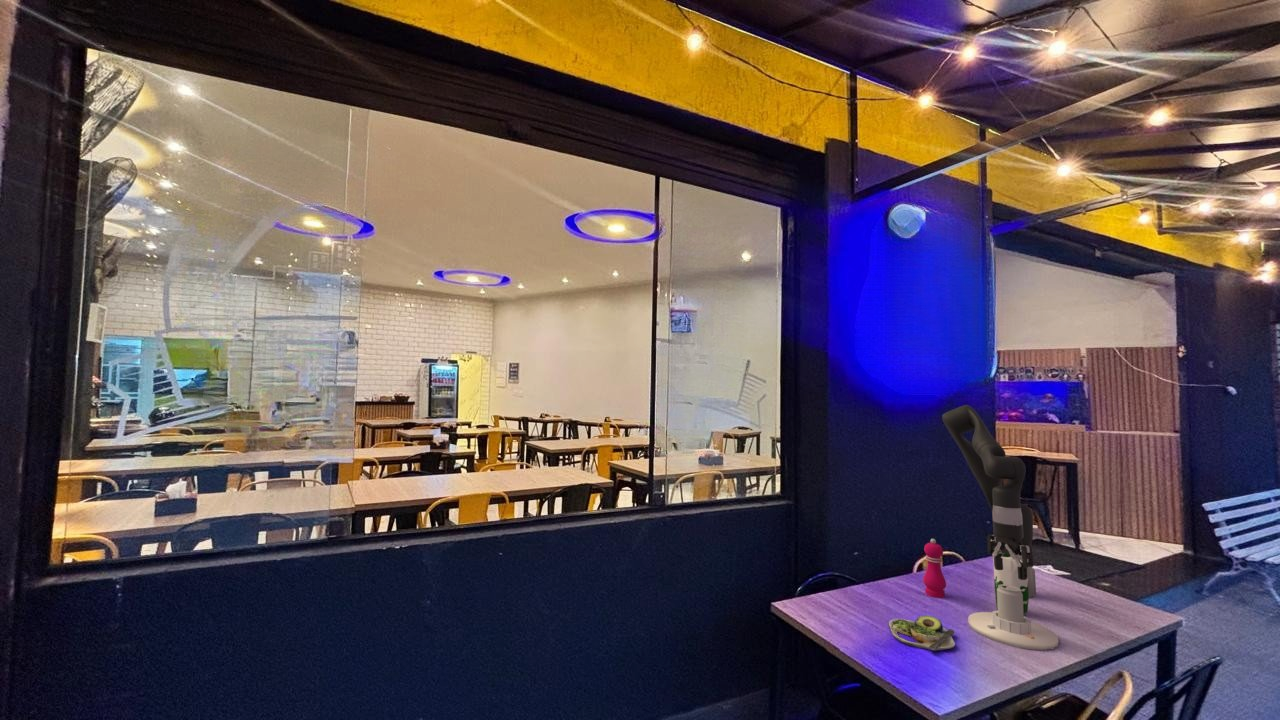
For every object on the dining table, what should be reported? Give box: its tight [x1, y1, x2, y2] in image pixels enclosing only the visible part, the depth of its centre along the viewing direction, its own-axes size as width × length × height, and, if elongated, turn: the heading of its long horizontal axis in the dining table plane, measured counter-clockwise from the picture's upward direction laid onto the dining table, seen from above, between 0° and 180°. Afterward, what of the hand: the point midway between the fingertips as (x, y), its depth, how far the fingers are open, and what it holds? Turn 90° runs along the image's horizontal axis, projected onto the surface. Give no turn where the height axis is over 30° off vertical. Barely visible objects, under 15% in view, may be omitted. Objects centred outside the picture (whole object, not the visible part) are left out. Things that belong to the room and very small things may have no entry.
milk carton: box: [992, 554, 1030, 616], centre depth 168 cm, size 9×9×20 cm
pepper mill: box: [922, 538, 947, 599], centre depth 181 cm, size 7×7×20 cm
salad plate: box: [888, 615, 956, 652], centre depth 145 cm, size 19×18×5 cm
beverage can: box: [996, 584, 1025, 623], centre depth 151 cm, size 6×6×12 cm
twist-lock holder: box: [967, 610, 1059, 651], centre depth 151 cm, size 22×22×4 cm
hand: (1010, 574), depth 152 cm, fingers open, 8 cm apart
